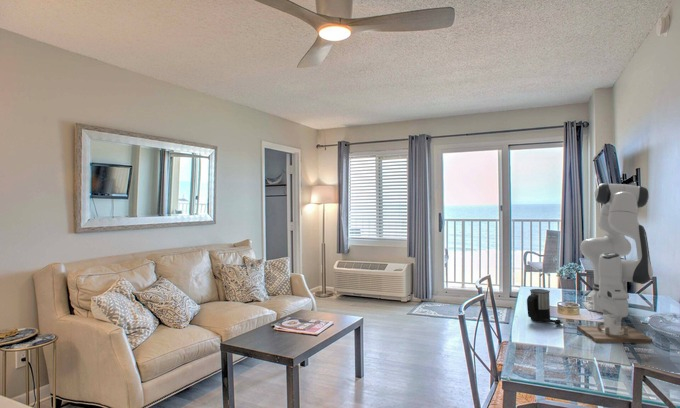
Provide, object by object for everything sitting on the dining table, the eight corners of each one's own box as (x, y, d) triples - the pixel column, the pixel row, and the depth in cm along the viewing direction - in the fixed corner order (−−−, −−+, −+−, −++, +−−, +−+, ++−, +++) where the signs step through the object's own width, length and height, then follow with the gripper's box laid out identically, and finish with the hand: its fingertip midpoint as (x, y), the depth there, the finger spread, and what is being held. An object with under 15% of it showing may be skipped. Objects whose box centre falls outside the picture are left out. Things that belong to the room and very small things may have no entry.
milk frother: (533, 316, 215) (532, 287, 215) (567, 321, 205) (566, 291, 205) (525, 323, 204) (524, 293, 204) (560, 328, 194) (559, 296, 194)
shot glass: (624, 334, 178) (624, 317, 178) (607, 333, 179) (606, 317, 179) (617, 329, 184) (617, 313, 184) (600, 328, 186) (600, 313, 186)
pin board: (577, 329, 192) (576, 319, 192) (628, 329, 189) (628, 319, 189) (594, 342, 175) (594, 331, 175) (652, 342, 171) (652, 331, 171)
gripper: (592, 285, 193) (593, 315, 193) (614, 295, 172) (615, 329, 172) (607, 285, 192) (608, 315, 192) (631, 295, 171) (632, 329, 171)
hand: (611, 322), depth 182 cm, fingers open, 8 cm apart
